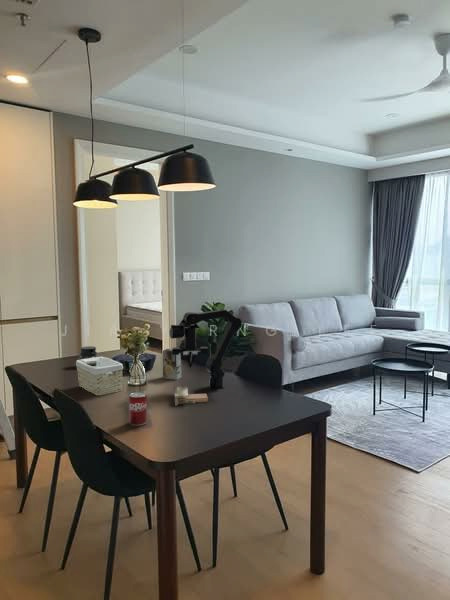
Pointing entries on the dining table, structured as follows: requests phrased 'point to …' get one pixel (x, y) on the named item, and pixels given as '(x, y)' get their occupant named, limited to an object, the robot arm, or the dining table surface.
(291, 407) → the dining table surface
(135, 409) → the soda can
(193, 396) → the terracotta tile
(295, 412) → the dining table surface
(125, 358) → the decorative bowl
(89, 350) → the supplement container
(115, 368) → the storage basket
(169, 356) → the coffee box
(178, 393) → the grey-green flat pronged block
